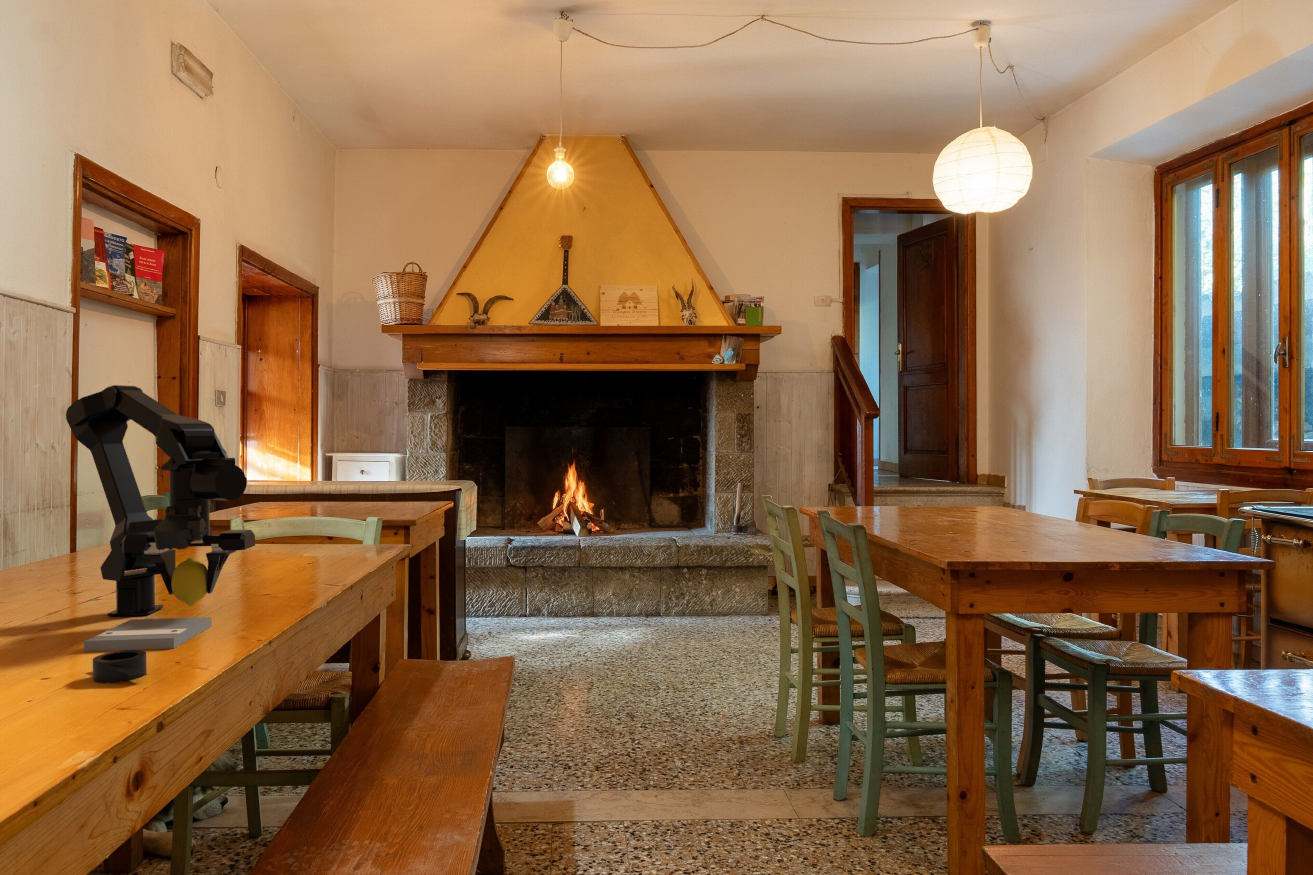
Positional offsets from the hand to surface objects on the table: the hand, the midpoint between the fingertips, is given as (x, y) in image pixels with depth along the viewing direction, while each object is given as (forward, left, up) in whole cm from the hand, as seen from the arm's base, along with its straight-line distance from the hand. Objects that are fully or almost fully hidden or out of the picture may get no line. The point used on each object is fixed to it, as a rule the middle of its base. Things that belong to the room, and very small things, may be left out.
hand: (190, 593), depth 143 cm
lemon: (0, 0, -2) cm, 2 cm away
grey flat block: (+12, -1, -4) cm, 13 cm away
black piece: (+33, +4, -5) cm, 34 cm away
